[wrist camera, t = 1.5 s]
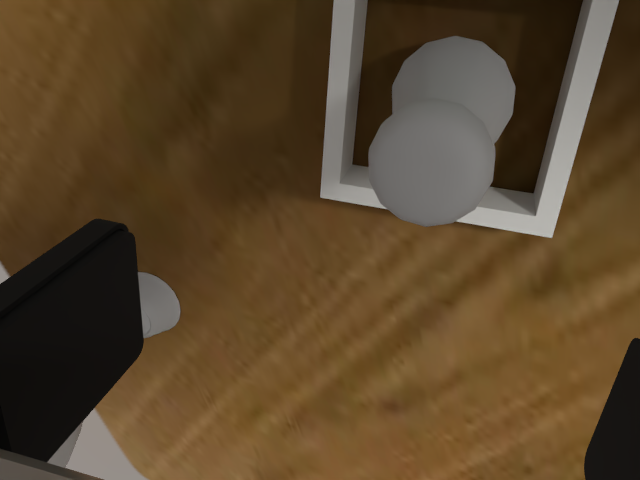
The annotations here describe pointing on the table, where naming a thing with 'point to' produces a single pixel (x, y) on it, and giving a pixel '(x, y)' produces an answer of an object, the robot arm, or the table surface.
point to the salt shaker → (441, 131)
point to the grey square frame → (497, 203)
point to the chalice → (156, 317)
